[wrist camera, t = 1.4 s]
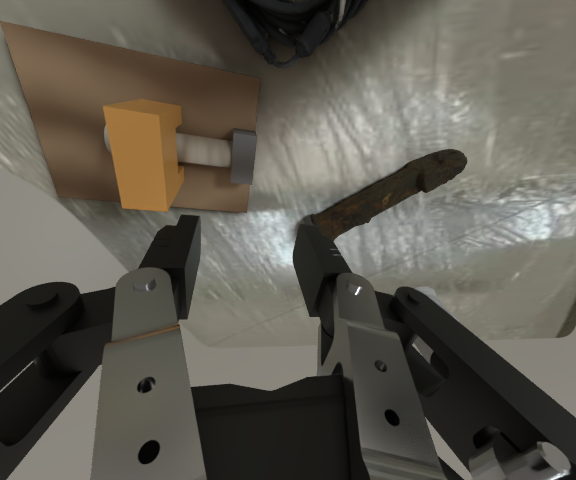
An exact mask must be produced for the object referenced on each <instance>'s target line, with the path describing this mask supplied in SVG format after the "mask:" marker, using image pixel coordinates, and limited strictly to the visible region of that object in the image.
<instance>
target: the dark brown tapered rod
mask: <svg viewBox="0 0 576 480" xmlns="http://www.w3.org/2000/svg"><path fill="white" fill-rule="evenodd" d="M466 164H467V158H466V157H465V155H464V153H462V152H461V151H458V150H454V149H446V150H441V151H438V152H435V153H432V154H428V155H426V156H424V157H422V158H419V159H416V160H414V161H411V162H409V163H407V164H406V165H405V168H404V169H403V170H401V171H400V172H398V173H396V174H394V175H392V176H390V177H388V178H386V179H384V180H382V181H380V182H378V183H375V184H374V185H372V186H371V187H369V188H368V189H366V190H364V191H362V192H360V193H358V194H356V195H354V196H352V197H350V198H348V199H346V200H344V201H343V202H341V203H340V204H338V205H336V206H334V207H333V208H331V209H329V210H327V211H326V212H324V213H322V214H318V215H315V214H311V219H312V222H313V225H317V227H318V229H319V230H320V232H321V234H322V236H327V237H328V238H329V239H331V240H332V241H334V240H335V238H337V237H338V236H339V235H341V234H342V233H345V232H346V231H348V230H350V229H352V228H353V227H355V226H358V225H362V224H365V223H369V221H370V220H371V218H372V217H374V216H376V215H378V214H379V213H381V212H383V211H385V210H387V209H389V208H391V207H392V206H394V205H396V204H398V203H400V202H401V201H403V200H405V199H407V198H408V197H410V196H412V195H414V194H417V193H418V192H420V191H423V192H425V193H427V192H429V191H431V190H434V189H435V188H437V187H438V186H440V185H441V184H445V183H447V181H448V180H452V179H453V178H455V176H456V175H457V174H459V173H461V172H462V171H463V170H464V168H465V166H466Z"/></svg>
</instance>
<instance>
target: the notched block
mask: <svg viewBox="0 0 576 480" xmlns="http://www.w3.org/2000/svg"><path fill="white" fill-rule="evenodd" d="M103 110H104V115H105V121H106V126H107V131H108V136H109V142H110V147H111V152H112V157H113V162H114V168H115V173H116V178H117V183H118V188H119V194H120V199H121V204H122V208H125V209H137V210H150V211H163V212H168V210H169V208H170V206H171V204H172V202H173V200H174V198H175V197H176V195H177V193H178V191H179V189H180V187H181V185H182V183H183V182H184V166H180V165H178V162H177V144H176V128H177V127H178V126H179V125H181V124H182V113H181V106H180V105H174V104H168V103H163V102H157V101H152V100H146V99H139V100H133V101H128V102H122V103H117V104H111V105H106V106H103Z"/></svg>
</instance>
